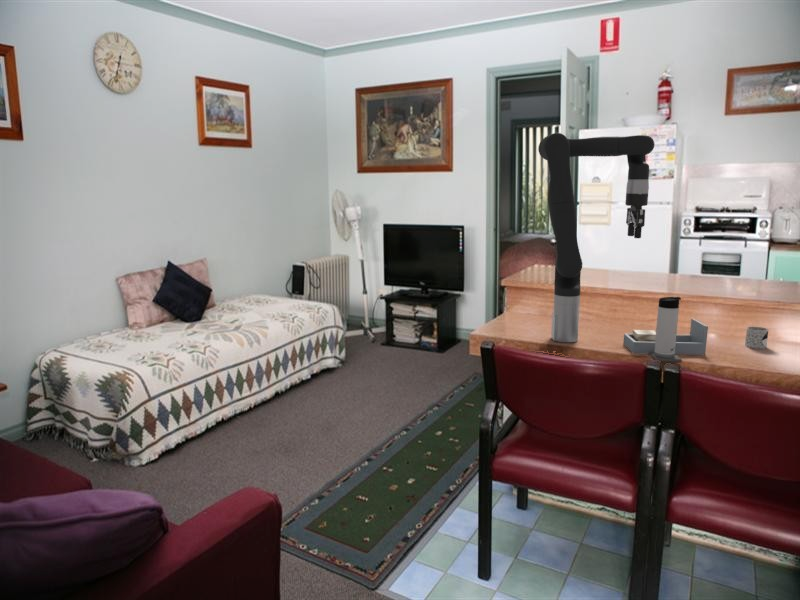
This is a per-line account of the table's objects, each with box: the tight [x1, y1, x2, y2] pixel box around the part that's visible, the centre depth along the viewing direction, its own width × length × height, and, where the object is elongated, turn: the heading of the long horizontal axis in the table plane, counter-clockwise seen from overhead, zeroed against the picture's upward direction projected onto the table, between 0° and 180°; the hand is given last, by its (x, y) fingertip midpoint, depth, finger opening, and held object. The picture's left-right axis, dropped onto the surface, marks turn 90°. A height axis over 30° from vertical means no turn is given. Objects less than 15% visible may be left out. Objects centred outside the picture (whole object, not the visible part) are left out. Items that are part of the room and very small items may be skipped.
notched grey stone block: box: [744, 326, 769, 350], centre depth 218 cm, size 10×7×7 cm, turn 149°
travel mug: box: [654, 296, 682, 358], centre depth 201 cm, size 6×7×20 cm
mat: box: [648, 352, 683, 363], centre depth 203 cm, size 8×8×1 cm
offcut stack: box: [632, 329, 656, 342], centre depth 215 cm, size 8×7×6 cm
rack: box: [622, 318, 709, 356], centre depth 213 cm, size 24×12×10 cm, turn 85°
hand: (634, 237), depth 223 cm, fingers open, 8 cm apart
